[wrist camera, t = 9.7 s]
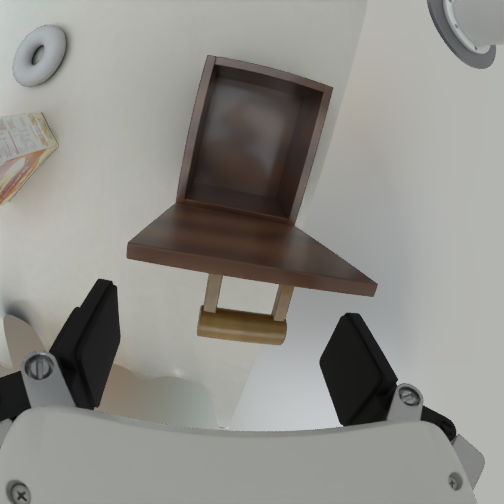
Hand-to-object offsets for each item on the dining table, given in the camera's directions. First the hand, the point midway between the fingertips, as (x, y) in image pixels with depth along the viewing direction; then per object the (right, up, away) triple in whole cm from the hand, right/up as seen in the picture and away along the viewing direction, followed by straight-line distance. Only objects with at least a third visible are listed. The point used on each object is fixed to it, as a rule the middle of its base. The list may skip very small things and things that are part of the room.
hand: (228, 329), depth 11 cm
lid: (0, +5, +10) cm, 11 cm away
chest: (0, +18, +23) cm, 29 cm away
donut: (-30, +32, +13) cm, 45 cm away
